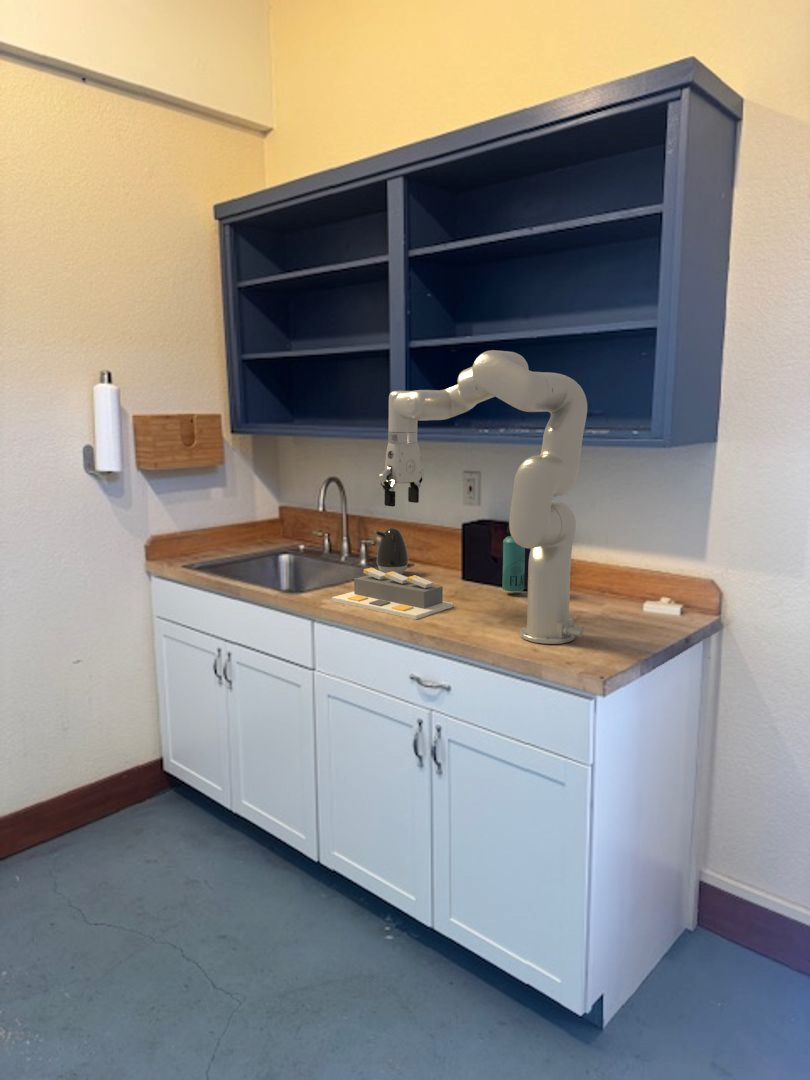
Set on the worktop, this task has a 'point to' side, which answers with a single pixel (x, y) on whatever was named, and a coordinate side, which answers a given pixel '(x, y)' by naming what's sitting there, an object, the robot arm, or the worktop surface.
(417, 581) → the plate
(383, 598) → the switch unit
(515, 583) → the beverage bottle
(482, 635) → the worktop surface
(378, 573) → the plate
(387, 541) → the black egg-shaped figure
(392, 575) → the block
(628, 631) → the worktop surface
